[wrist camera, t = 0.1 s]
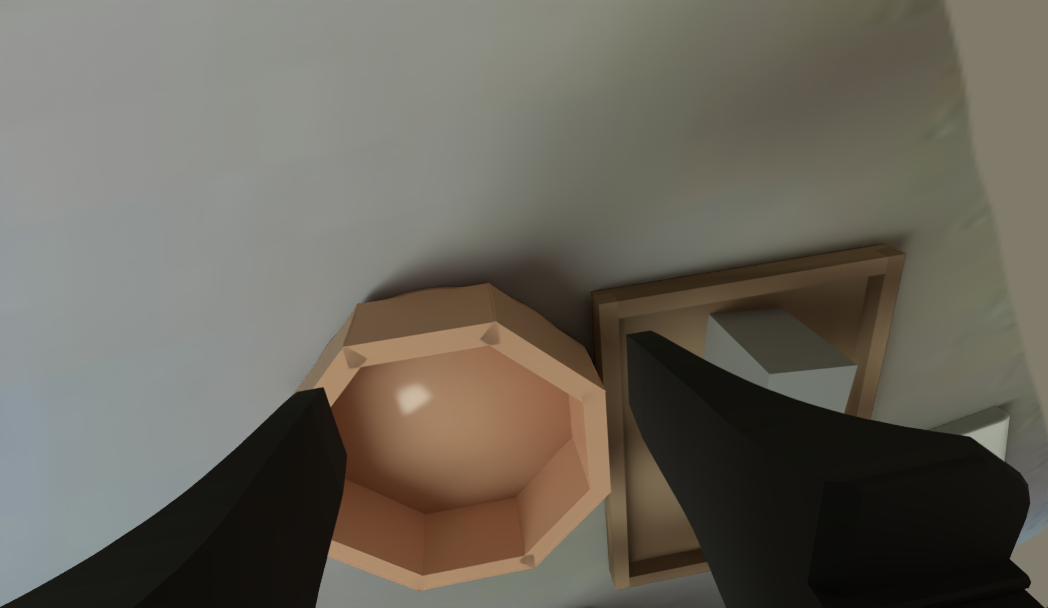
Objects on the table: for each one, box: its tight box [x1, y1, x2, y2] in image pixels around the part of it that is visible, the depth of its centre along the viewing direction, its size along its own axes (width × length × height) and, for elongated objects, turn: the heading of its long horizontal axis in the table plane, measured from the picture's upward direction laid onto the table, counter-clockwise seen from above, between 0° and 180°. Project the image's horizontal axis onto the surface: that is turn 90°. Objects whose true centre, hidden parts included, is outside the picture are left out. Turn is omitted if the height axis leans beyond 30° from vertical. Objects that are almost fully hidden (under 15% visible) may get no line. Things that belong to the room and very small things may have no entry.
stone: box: [703, 308, 858, 413], centre depth 23 cm, size 4×4×5 cm
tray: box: [591, 244, 906, 590], centre depth 27 cm, size 18×14×1 cm
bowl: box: [293, 283, 612, 591], centre depth 23 cm, size 13×13×4 cm
